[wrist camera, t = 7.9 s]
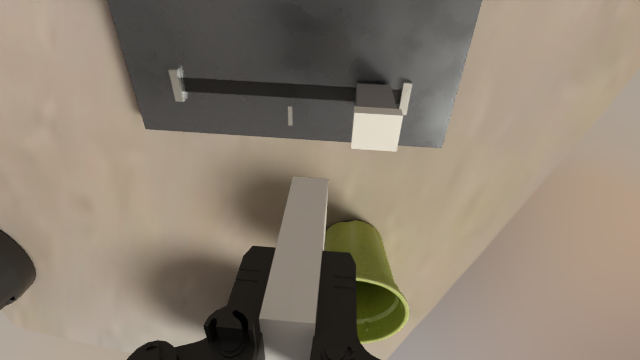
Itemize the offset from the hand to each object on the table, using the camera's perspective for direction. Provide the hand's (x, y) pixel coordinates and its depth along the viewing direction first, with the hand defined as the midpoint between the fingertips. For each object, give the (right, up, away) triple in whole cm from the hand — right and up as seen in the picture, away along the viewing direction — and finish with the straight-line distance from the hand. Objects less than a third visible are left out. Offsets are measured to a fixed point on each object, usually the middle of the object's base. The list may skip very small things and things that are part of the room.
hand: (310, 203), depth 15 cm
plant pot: (+4, -5, +21) cm, 22 cm away
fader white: (+4, +7, +10) cm, 13 cm away
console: (-2, +12, +9) cm, 15 cm away
